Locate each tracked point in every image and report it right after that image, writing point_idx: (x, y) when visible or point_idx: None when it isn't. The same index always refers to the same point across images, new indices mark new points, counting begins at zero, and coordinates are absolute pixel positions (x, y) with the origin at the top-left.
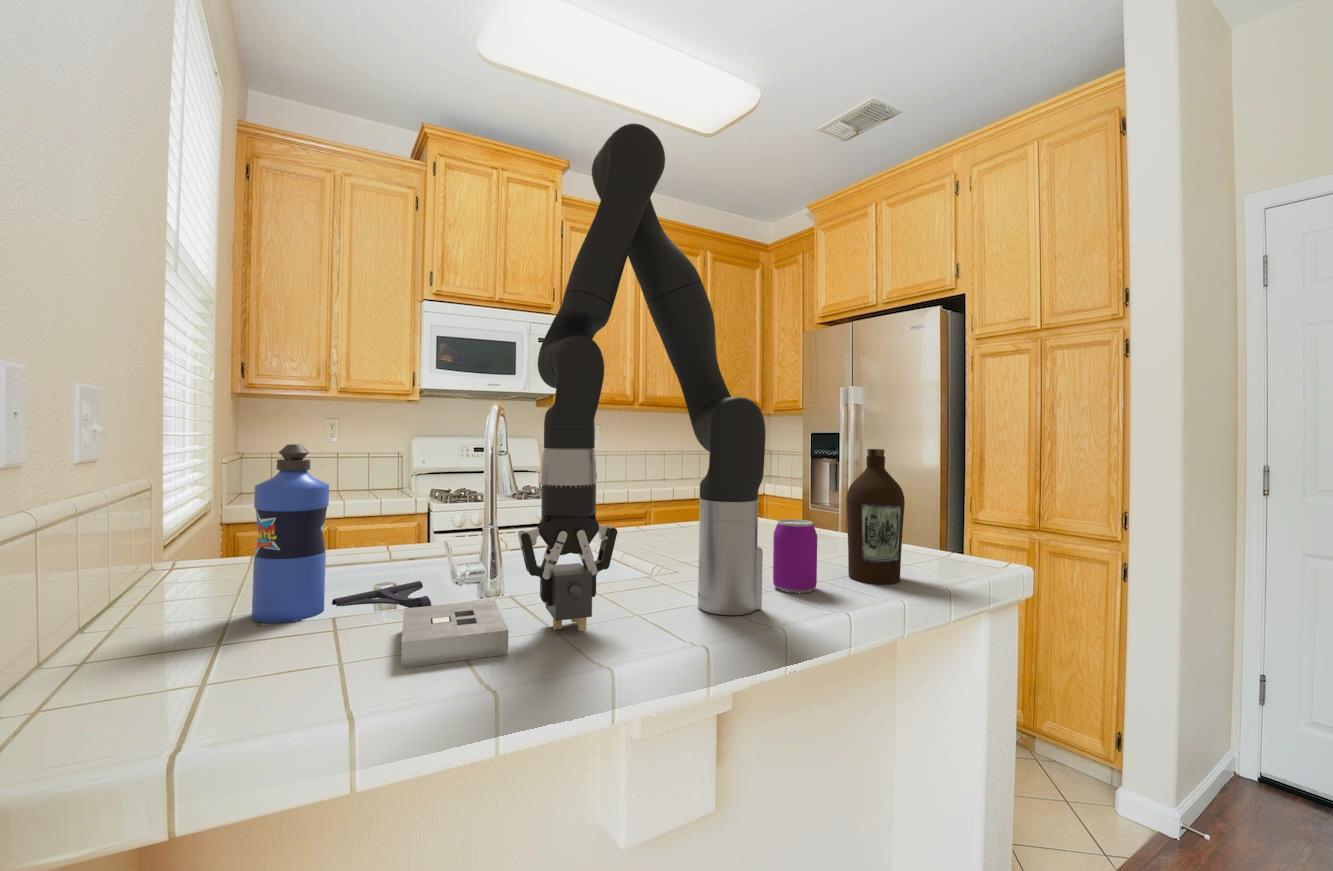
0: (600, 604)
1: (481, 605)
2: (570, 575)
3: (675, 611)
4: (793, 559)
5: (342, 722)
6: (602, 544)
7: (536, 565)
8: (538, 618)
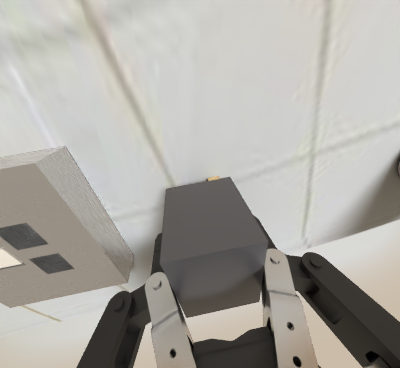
0: (288, 66)
1: (26, 199)
2: (215, 309)
3: (371, 146)
4: None
5: (54, 321)
6: (360, 338)
7: (140, 338)
8: (153, 145)
